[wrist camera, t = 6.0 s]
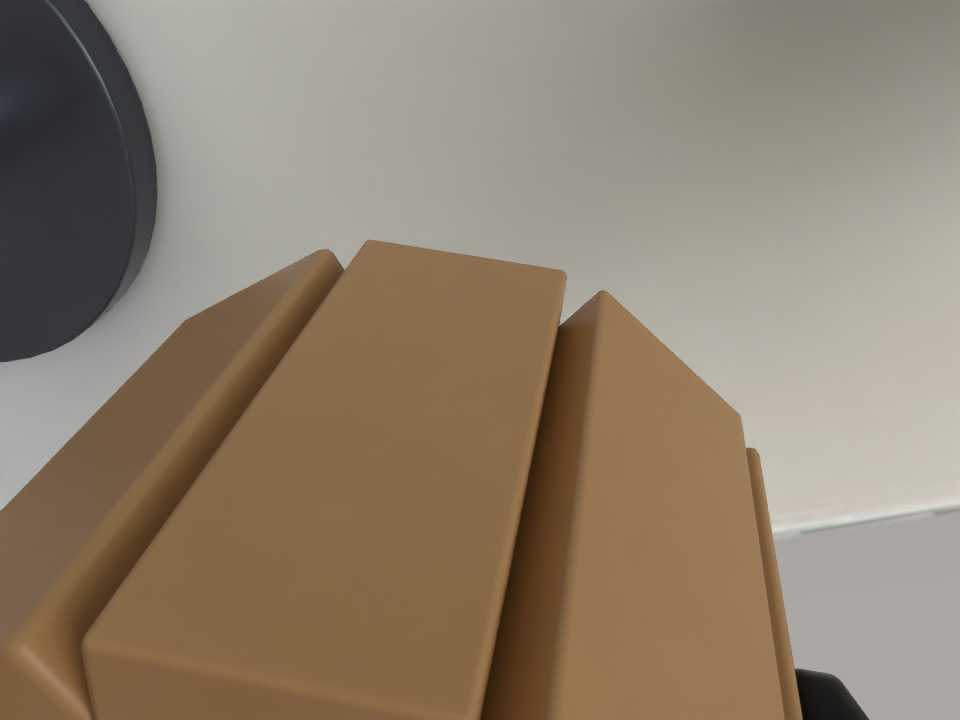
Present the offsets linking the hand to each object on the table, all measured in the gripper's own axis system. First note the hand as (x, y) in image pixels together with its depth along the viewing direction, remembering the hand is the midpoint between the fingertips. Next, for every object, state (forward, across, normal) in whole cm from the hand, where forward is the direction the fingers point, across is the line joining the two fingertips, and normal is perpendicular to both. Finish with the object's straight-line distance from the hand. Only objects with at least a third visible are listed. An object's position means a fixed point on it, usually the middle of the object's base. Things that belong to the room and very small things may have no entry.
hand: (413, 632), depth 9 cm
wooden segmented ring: (+1, 0, 0) cm, 1 cm away
